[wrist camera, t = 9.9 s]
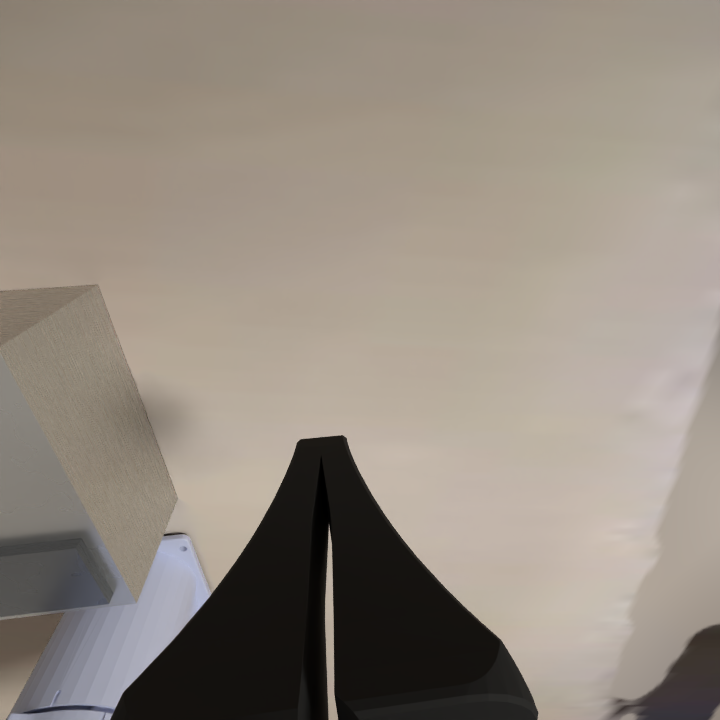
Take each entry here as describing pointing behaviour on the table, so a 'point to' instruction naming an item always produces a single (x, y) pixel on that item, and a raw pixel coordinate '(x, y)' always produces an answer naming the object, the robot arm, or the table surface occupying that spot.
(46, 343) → the motor housing
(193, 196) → the table surface
